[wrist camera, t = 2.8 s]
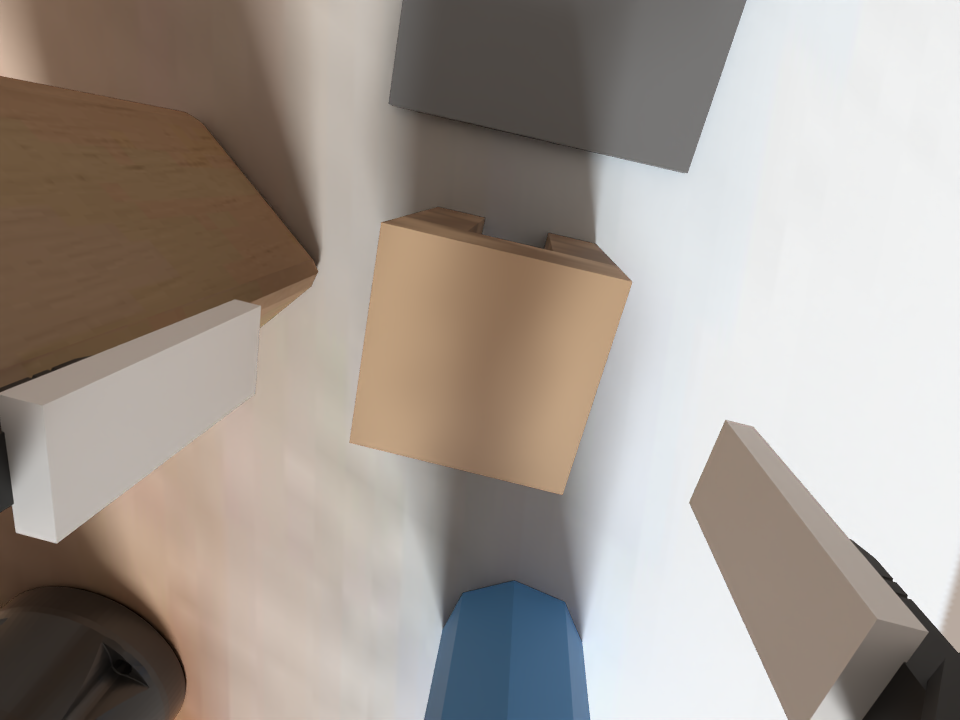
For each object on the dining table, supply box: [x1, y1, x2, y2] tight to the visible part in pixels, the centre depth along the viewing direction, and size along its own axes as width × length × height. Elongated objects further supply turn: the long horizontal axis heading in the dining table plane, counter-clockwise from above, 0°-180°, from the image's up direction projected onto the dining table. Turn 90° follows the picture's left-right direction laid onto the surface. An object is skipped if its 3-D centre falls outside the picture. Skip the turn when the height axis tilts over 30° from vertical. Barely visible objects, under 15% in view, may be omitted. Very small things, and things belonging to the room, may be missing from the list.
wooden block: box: [0, 76, 318, 388], centre depth 18 cm, size 10×10×20 cm
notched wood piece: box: [349, 207, 632, 495], centre depth 22 cm, size 8×8×10 cm
